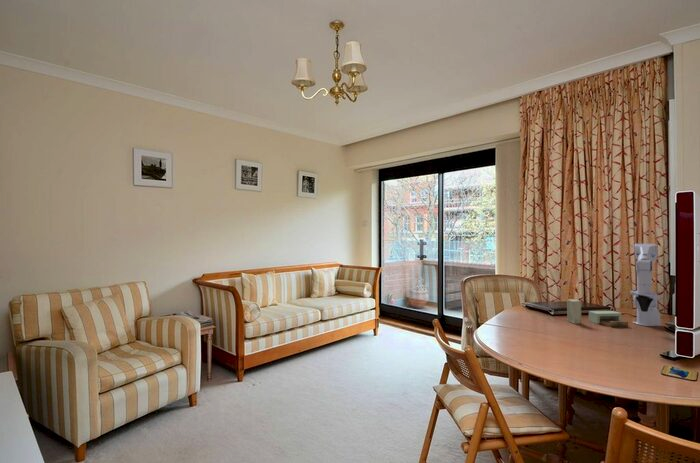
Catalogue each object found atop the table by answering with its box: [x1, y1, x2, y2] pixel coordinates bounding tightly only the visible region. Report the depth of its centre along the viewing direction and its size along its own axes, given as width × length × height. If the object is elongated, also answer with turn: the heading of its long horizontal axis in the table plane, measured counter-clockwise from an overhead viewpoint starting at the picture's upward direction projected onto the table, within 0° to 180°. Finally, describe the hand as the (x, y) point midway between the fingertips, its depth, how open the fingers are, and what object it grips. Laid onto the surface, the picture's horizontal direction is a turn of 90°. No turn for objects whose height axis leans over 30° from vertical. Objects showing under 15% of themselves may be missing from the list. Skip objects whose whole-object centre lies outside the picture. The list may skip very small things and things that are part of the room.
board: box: [599, 319, 629, 328], centre depth 192 cm, size 9×12×3 cm
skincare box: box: [566, 298, 582, 325], centre depth 195 cm, size 6×4×12 cm
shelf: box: [588, 310, 622, 325], centre depth 196 cm, size 14×6×6 cm, turn 94°
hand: (644, 311), depth 178 cm, fingers closed
